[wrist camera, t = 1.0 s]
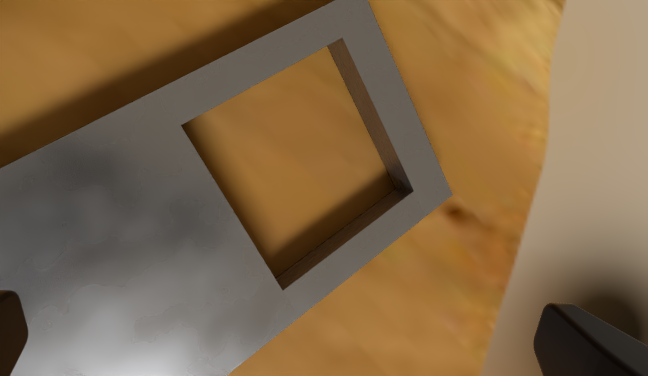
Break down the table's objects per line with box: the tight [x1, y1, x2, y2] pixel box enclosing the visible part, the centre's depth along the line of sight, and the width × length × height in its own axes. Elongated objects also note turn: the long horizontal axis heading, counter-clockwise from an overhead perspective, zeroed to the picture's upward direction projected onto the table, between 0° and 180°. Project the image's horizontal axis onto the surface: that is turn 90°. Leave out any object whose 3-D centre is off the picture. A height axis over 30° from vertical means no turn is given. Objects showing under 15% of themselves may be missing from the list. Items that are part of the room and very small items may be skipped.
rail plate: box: [0, 0, 452, 376], centre depth 18 cm, size 20×11×2 cm, turn 120°
